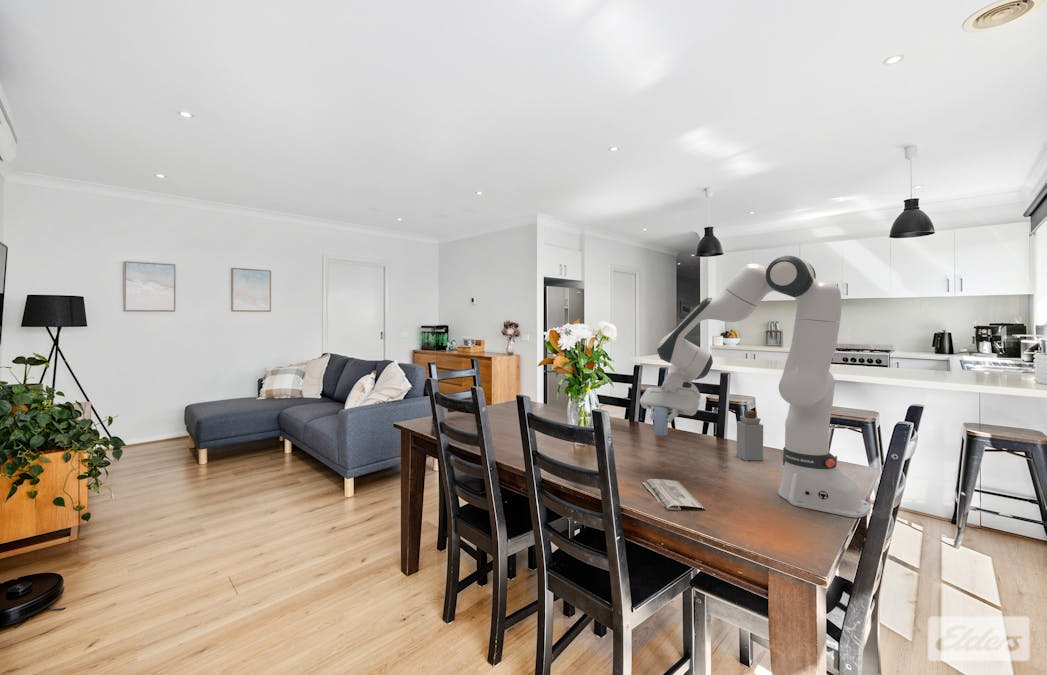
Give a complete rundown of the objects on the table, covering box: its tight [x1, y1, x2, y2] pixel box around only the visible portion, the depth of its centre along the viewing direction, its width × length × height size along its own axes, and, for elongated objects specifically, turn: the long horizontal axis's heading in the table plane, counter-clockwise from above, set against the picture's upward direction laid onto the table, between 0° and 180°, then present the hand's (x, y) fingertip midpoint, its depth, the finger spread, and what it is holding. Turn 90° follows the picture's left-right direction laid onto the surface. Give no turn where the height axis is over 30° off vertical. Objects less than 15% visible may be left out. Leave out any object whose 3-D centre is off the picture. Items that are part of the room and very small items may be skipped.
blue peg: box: [653, 407, 669, 437], centre depth 155 cm, size 4×4×9 cm
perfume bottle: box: [736, 410, 764, 462], centre depth 175 cm, size 7×7×18 cm
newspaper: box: [642, 478, 706, 511], centre depth 138 cm, size 23×12×2 cm, turn 0°
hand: (659, 420), depth 155 cm, fingers closed on blue peg, 4 cm apart
